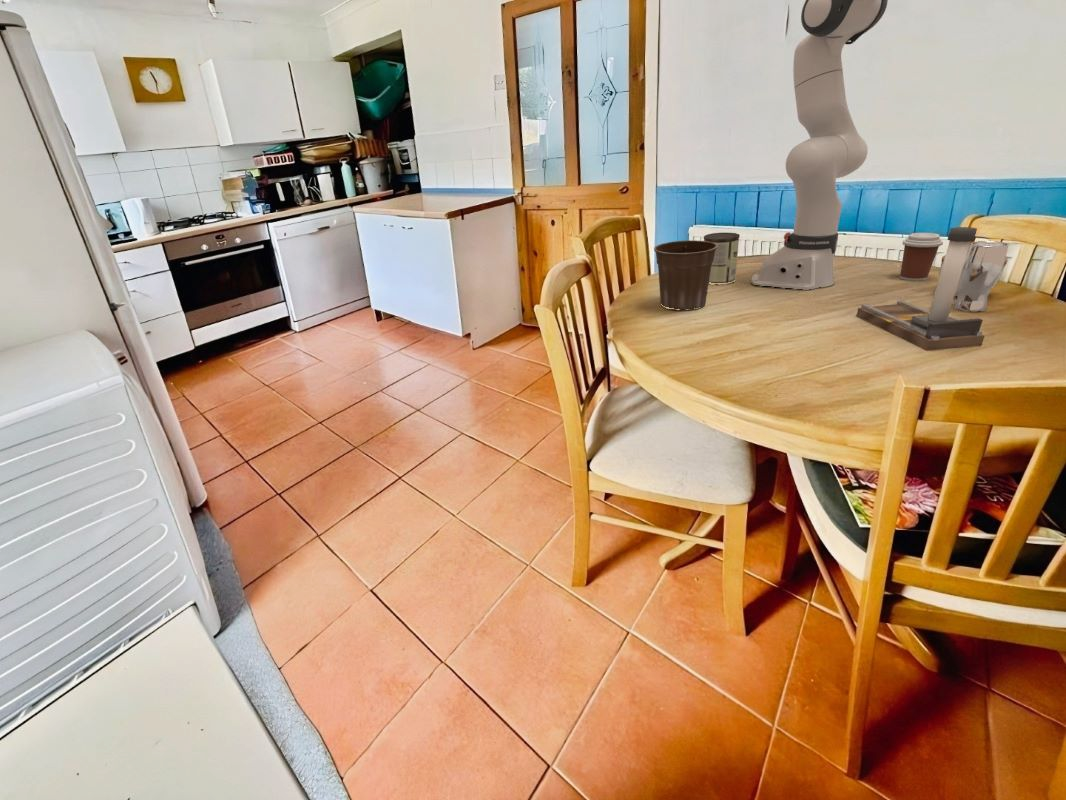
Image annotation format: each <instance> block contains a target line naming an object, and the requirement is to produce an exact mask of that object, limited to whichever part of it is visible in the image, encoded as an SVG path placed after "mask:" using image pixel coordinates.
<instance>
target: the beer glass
mask: <svg viewBox="0 0 1066 800" xmlns="http://www.w3.org/2000/svg"><path fill="white" fill-rule="evenodd" d="M1009 245H1010V244H1009V243H1008V242H1003V241H996V240H995V241H994V240H977V241H971V242H970V245H969V249H968V252H967V255H966V259H965V262H964V265H963V269H962V276H961V287H960V292H959V295H958V297H956V299H955V301H954V303H953V304H952V307H953V309H955V310H957V309H958V310H957V311H960V310H962V312H966V311H971V312H970V313H979V312H978V311H982V312H984V310H985V311H986V309H987V305H988V297H989V295H990V292H991V290H992V289H993V287H992V286H993V284H994V283H995V281H996V279H997V277H998V276H999V274H1000V272H1001V270H1002V267H1003V264H1004V261H1005V258H1007V253H1008V248H1009Z"/></svg>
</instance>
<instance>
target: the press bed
mask: <svg viewBox="0 0 1066 800" xmlns="http://www.w3.org/2000/svg"><path fill="white" fill-rule="evenodd" d="M929 312H930V310H927V309H924V308H921V307H918V306H916V305H914V304H911V303H910V302H906V301H904V300H897V301H896V304H887V305H886V304H885V305H877V306H871V305H869V304H866V303H863V304H861V307H858V308H857V312H856V317H858V318H860V319H862V320H864V321H866V322H869V323H870V324H872V325H874V326H876V327H879V328H880V329H883V330H884V331H886V332H889V333H891V334H893V335H895V336H897V337H898V338H901V339H903V340H905V341H907V342H909V343H912V344H913V345H916V346H918V347H920V348H921V349H923V350H925V351H933V350H934V351H935V350H944V349H954V347H956V348H964V346H966V347H974V346H973V345H977V346H982V345H983V342H984V339H985V337H986V335H985V334H983V331H981V327H982V325H983V319H982V318H970V319H969V318H968V319H957V321H946V322H936V323H929V325H928V328H927V331H926V330H924V329H922V328H919V327H917V326H915V325H913V324H911V320H912V317H913V316H918V315H929Z"/></svg>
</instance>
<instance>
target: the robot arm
mask: <svg viewBox="0 0 1066 800" xmlns="http://www.w3.org/2000/svg"><path fill="white" fill-rule="evenodd" d="M887 6H888V0H805V1H804V3H803V7H802V9H801V13H800V14H801V16H800V20H801V26H802V27H803V29H804V30H805V32H806V33H808V35H806V36H805V37H804V38H803V39H801V41H800V42H798V44H797V45H796V48H795V50H794V55H793V67H792V68H793V70H792V72H793V74H792V75H793V89H794V95H795V96H794V97H795V105H796V113H797V120H798V122H799V123H800V125H801V126H803V128H805V130H806V131H807V134H808V136H809V138H808V139H807V140H804V141H802V142H800V143H798V144H796V145H795V146H794V147H793V148H792V149H791V150H790V151H789V153H788V155H787V157H786V159H785V171H786V174H787V176H788V177H789V178H790V180H791V181H792V184H793V187H794V192H795V199H796V201H795V202H796V207H795V209H796V210H795V218H794V224H793V225H794V226H793V232H789V231H788V232H785V234H784V235H783V239H784V242H783V247H781V248H779V249H778V250H776V251H775V252H774V253H772V254H770V255H769V256H767V257H766V258H765V259H764V260H763V262H762V263H761V266H760V269H759V272H757V273H755V274H753V275H752V276H751V278H750V283H751V282H752V283H753V284H755V285H763V286H773V287H772V288H774V287H783V288H782V289H785V288H793V289H792V290H797V289H803V290H802V291H810V290H809V289H811V290H814V289H819V287H821V288H826V287H830V286H832V285H834V284H835V277H834V258H835V257H834V255H835V253H836V250H837V246H838V243H839V233H838V229H839V228H838V227H839V225H840V218H841V212H842V206H843V205H842V201H841V199H840V198H839V196H838V193H837V185H836V183H837V182H836V181H837V179H839V178H844V177H847V176H848V175H850V174H852V173H854V172H855V171H857V170H858V169H860V168H861V166H862V165H863V164H864V162H865V161H866V159H867V156H868V144H867V142H866V141H865V139H863V138H862V137H861V135H860V134H859V132H858V130H857V128H856V126H855V124H854V121H853V119H852V115H851V113H850V110H849V108H848V107H849V106H848V103H847V98H846V89H845V80H844V71H843V69H844V68H843V63H842V51H843V48H844V46H845V45H852V44H854V43H855V42H856V41H857V40H859V38H860V37H862V35H864V34H865V33H867V32H868V31H870V30H871V29H872V28H873V27H875V26H876V25H877V24H878V23H879V21H880V20H881V19H882V18H883V15H885V12H886V9H887ZM753 284H752V285H753Z"/></svg>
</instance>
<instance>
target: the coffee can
mask: <svg viewBox="0 0 1066 800" xmlns="http://www.w3.org/2000/svg"><path fill="white" fill-rule="evenodd" d="M703 241H708V242H713V243H715V244H717V245H718V247H717V249H716V250H715V255H714V261H713V262H712V265H711V271H710V277H709V282H711V283H728V282H732V281H734V280H735V281H736V273H737V263H738V252H739V241H740V234H738V233H735V232H712V233H708V234H705V235H704V236H703Z"/></svg>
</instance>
